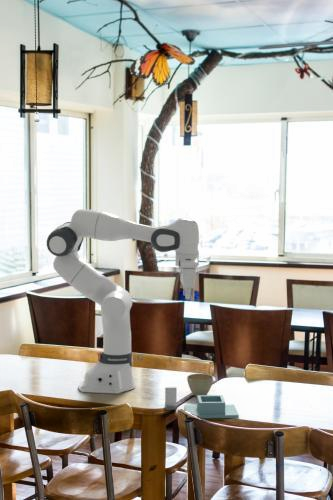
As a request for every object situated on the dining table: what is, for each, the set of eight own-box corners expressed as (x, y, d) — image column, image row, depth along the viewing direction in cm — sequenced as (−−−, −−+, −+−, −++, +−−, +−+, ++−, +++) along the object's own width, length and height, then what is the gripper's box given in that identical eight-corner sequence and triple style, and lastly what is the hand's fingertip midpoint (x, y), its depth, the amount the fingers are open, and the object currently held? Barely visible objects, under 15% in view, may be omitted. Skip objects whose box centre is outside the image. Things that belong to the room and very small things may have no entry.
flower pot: (185, 391, 278) (185, 373, 277) (210, 391, 278) (211, 373, 278) (188, 399, 268) (188, 380, 267) (214, 398, 269) (214, 380, 268)
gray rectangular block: (165, 409, 255) (165, 387, 254) (164, 406, 259) (164, 384, 258) (176, 409, 255) (176, 387, 254) (175, 406, 259) (175, 384, 258)
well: (186, 418, 245) (186, 404, 244) (184, 407, 257) (184, 394, 256) (238, 417, 246) (238, 403, 245) (234, 407, 258) (234, 393, 257)
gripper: (176, 258, 280) (176, 293, 281) (180, 263, 260) (180, 301, 261) (192, 258, 281) (192, 293, 282) (198, 263, 260) (197, 301, 261)
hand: (186, 297), depth 271 cm, fingers open, 8 cm apart
